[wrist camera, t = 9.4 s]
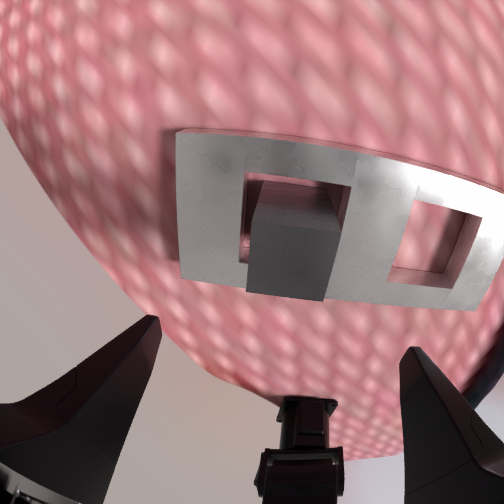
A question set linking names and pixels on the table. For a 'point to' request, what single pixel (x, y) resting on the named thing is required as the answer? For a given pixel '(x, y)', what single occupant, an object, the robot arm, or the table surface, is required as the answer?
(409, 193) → the metal plate with holes
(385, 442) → the table surface
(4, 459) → the robot arm
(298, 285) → the dark grey block
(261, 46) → the table surface
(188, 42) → the table surface
